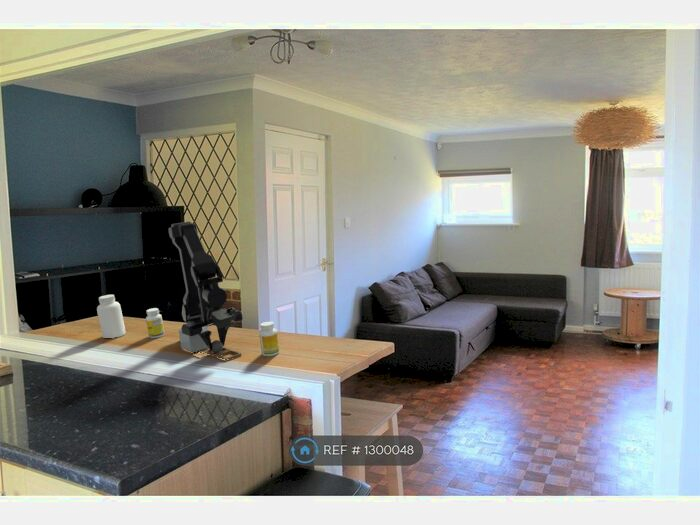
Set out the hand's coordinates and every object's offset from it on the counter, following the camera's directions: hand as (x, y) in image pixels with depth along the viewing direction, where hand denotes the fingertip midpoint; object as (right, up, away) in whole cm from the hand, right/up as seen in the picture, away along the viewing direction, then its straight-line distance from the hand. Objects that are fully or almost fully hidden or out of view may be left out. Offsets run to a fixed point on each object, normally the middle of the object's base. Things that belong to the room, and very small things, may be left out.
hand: (216, 348), depth 175 cm
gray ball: (0, -1, 0) cm, 2 cm away
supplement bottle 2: (+18, -1, -5) cm, 18 cm away
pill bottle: (-45, 0, +29) cm, 53 cm away
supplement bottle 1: (-27, 0, +24) cm, 36 cm away
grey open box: (-8, -1, +6) cm, 10 cm away
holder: (+2, -2, -2) cm, 3 cm away
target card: (-5, -2, -1) cm, 6 cm away
